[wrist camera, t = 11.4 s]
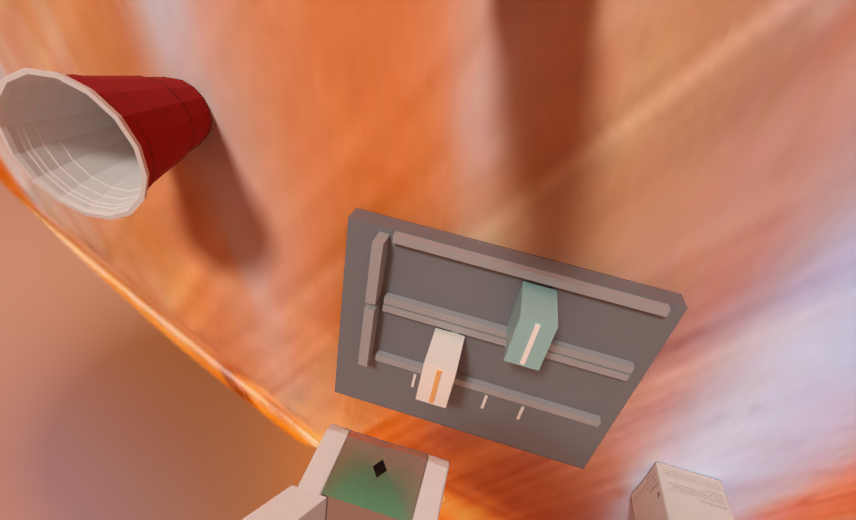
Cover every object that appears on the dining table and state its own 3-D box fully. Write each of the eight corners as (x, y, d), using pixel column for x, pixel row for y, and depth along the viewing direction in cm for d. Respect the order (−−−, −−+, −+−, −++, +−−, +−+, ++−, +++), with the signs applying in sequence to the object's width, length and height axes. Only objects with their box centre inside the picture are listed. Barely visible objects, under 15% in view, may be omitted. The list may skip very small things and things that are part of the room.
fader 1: (465, 336, 43) (455, 374, 39) (454, 370, 46) (445, 409, 42) (435, 327, 43) (423, 364, 39) (427, 362, 46) (415, 400, 42)
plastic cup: (213, 191, 44) (116, 250, 34) (118, 116, 42) (-15, 155, 32) (259, 109, 38) (157, 150, 28) (151, 17, 36) (1, 27, 26)
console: (681, 294, 38) (694, 323, 35) (582, 453, 51) (584, 485, 48) (356, 208, 41) (339, 227, 38) (341, 379, 54) (327, 404, 51)
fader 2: (557, 290, 38) (558, 328, 34) (539, 332, 41) (538, 372, 37) (523, 281, 38) (520, 317, 34) (507, 323, 41) (503, 361, 37)
